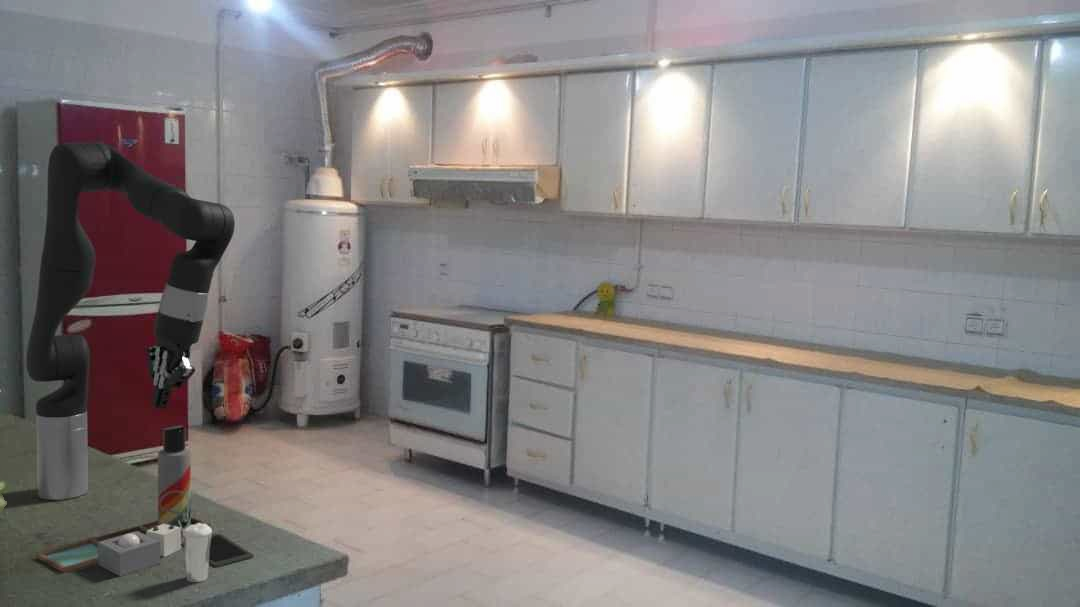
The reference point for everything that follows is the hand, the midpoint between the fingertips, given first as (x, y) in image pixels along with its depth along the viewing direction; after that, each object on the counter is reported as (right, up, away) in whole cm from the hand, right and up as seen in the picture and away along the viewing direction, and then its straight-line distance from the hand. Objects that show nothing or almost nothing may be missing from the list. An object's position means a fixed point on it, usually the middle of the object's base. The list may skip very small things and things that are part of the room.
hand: (158, 407), depth 155 cm
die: (0, -26, +2) cm, 26 cm away
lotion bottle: (-3, -25, +13) cm, 28 cm away
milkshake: (+10, -28, -8) cm, 30 cm away
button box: (-3, -26, -4) cm, 27 cm away
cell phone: (+9, -27, +4) cm, 28 cm away
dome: (-3, -26, -4) cm, 26 cm away
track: (-8, -25, +5) cm, 27 cm away
